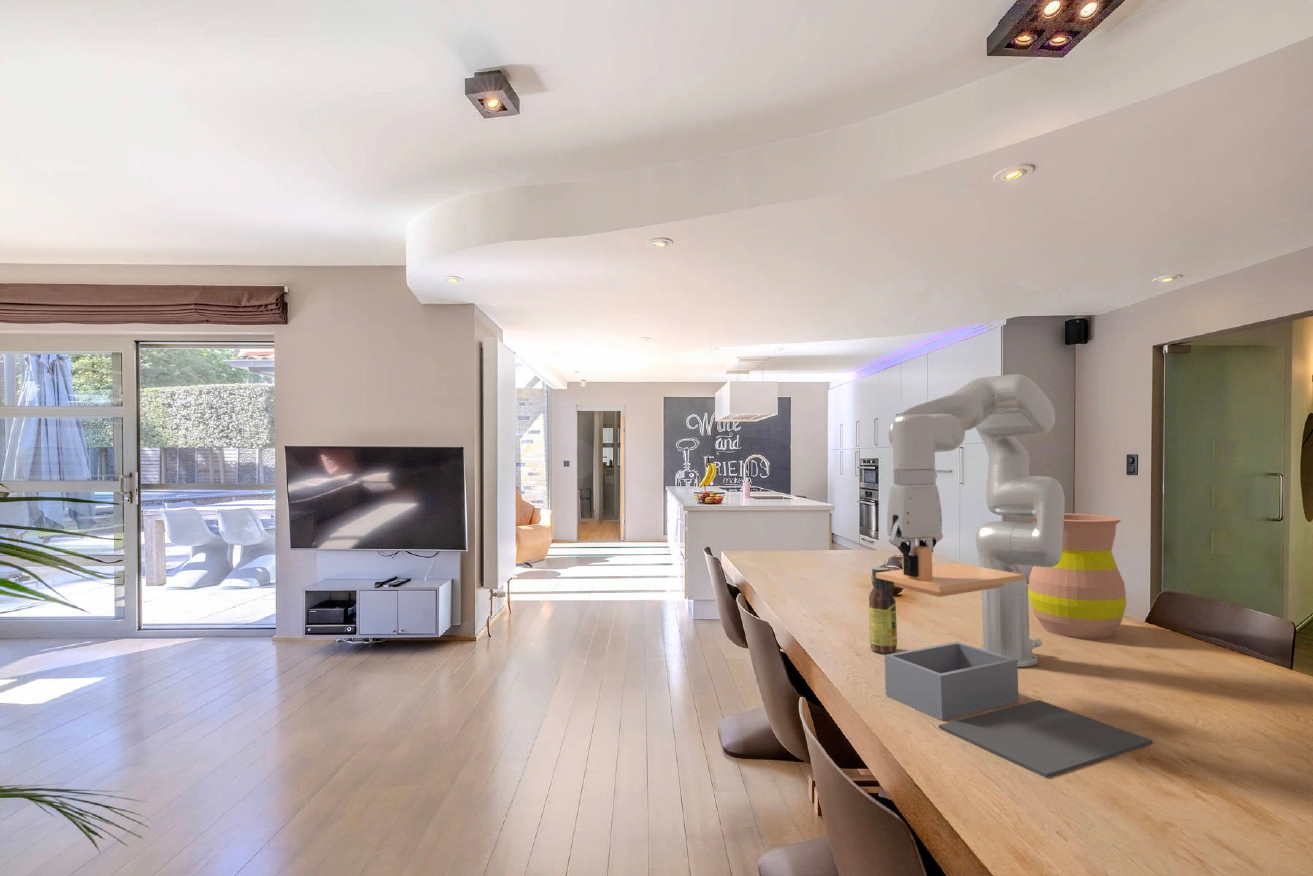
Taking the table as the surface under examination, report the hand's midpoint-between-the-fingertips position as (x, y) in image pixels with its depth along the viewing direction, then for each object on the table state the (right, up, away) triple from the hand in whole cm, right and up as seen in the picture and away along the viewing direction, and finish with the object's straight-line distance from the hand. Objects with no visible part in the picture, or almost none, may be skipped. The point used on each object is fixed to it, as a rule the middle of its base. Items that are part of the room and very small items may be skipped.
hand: (917, 574), depth 128 cm
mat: (+15, -24, -15) cm, 32 cm away
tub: (+8, -25, +3) cm, 26 cm away
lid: (+7, -3, +3) cm, 9 cm away
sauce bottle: (+5, -26, +34) cm, 43 cm away
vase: (+61, -25, +49) cm, 82 cm away
